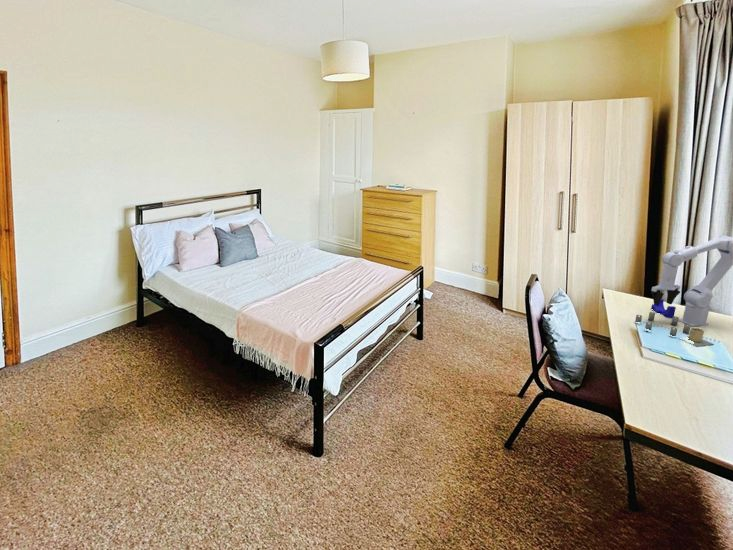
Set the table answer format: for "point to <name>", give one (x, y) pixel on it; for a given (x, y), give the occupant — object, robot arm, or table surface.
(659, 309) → the cable clip
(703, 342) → the mat
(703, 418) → the table surface
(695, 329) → the brass nut
